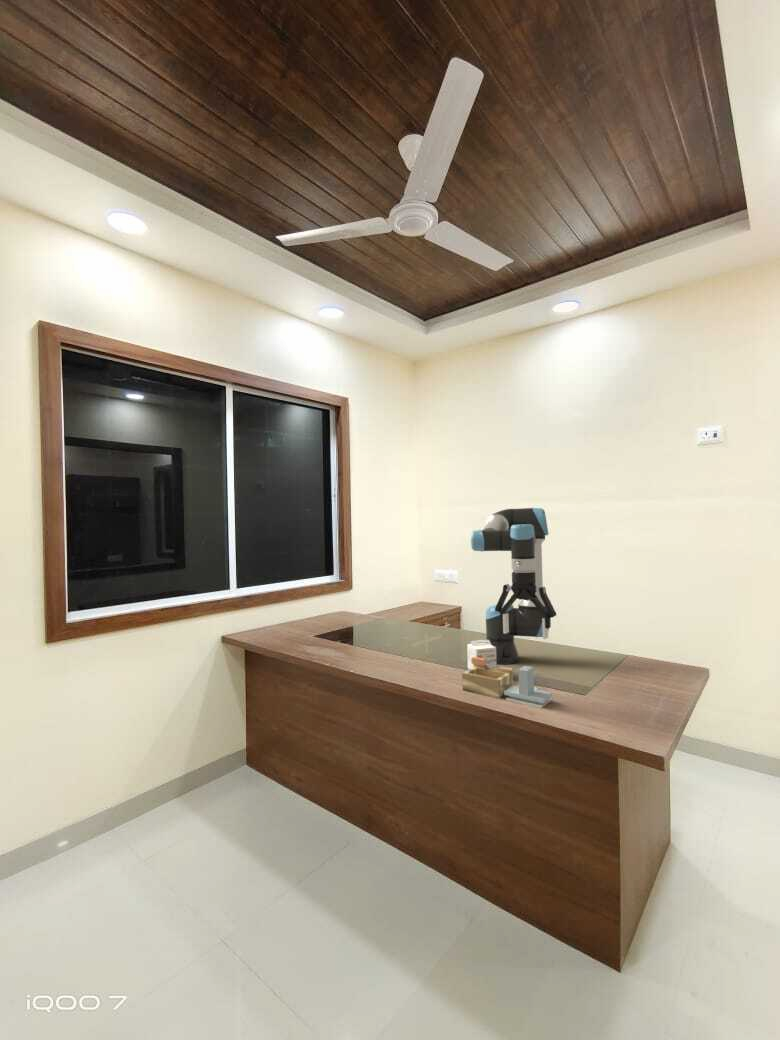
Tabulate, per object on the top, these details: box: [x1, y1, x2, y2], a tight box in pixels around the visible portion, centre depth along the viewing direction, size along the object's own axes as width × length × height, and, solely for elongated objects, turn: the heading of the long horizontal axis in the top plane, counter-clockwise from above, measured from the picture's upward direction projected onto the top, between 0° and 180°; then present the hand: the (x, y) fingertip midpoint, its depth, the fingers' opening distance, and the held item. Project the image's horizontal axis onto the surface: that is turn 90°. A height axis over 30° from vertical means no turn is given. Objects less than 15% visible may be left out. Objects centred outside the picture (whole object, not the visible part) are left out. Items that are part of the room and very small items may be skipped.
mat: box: [505, 696, 551, 709], centre depth 157 cm, size 8×12×1 cm, turn 51°
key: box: [472, 657, 486, 666], centre depth 174 cm, size 2×5×2 cm, turn 51°
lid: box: [504, 665, 553, 704], centre depth 158 cm, size 9×13×10 cm
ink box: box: [466, 639, 498, 671], centre depth 184 cm, size 9×8×13 cm
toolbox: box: [461, 664, 514, 699], centre depth 168 cm, size 11×14×7 cm
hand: (525, 635), depth 157 cm, fingers open, 13 cm apart
